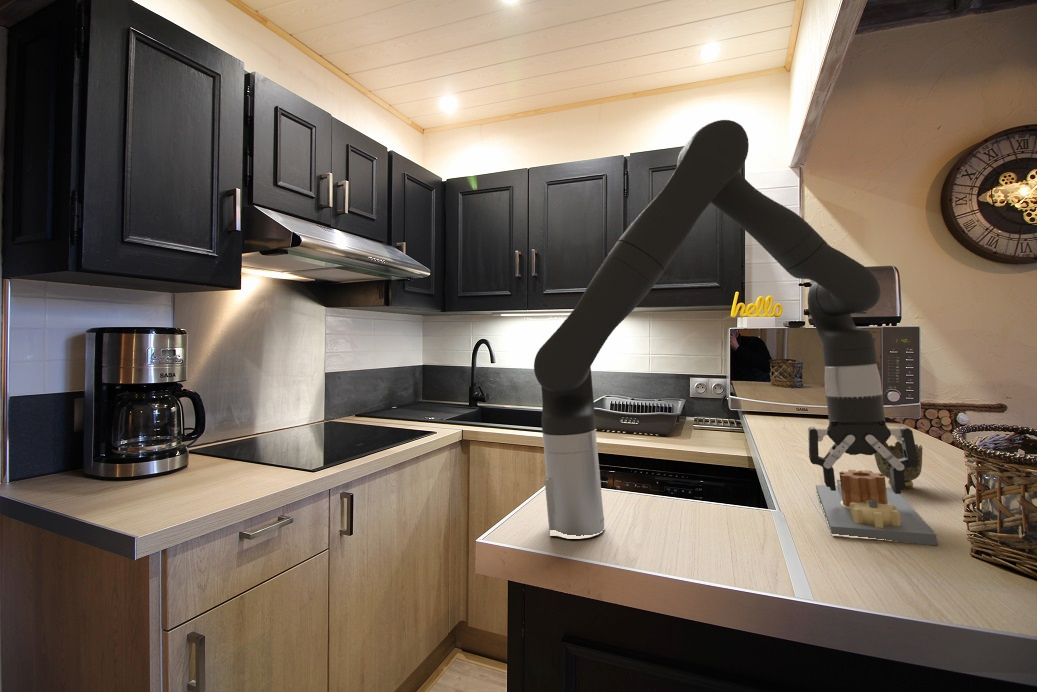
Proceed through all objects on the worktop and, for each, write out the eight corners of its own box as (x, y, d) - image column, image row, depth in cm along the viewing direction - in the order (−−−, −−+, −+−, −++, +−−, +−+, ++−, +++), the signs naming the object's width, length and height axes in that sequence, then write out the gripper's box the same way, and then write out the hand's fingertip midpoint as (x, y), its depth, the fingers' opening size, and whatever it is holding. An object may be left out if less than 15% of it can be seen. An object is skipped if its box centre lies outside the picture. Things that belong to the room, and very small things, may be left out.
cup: (881, 491, 85) (876, 448, 85) (872, 481, 92) (867, 441, 92) (933, 494, 82) (928, 449, 82) (920, 482, 88) (915, 441, 88)
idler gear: (854, 511, 73) (851, 480, 73) (835, 499, 79) (832, 470, 79) (897, 510, 72) (893, 478, 72) (874, 498, 78) (870, 468, 78)
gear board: (937, 545, 63) (933, 512, 63) (831, 536, 68) (828, 506, 68) (896, 496, 82) (893, 471, 82) (816, 492, 88) (814, 469, 88)
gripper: (804, 396, 76) (815, 495, 75) (915, 392, 69) (927, 501, 69) (801, 392, 82) (810, 482, 82) (901, 388, 76) (913, 486, 75)
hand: (864, 491), depth 75 cm, fingers open, 8 cm apart
